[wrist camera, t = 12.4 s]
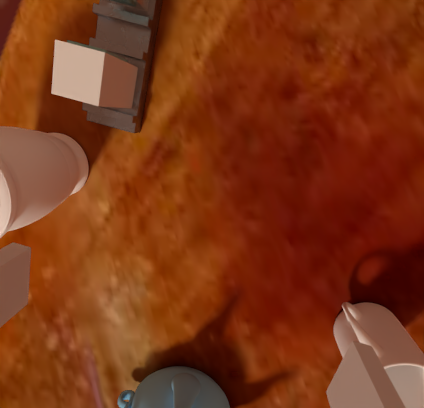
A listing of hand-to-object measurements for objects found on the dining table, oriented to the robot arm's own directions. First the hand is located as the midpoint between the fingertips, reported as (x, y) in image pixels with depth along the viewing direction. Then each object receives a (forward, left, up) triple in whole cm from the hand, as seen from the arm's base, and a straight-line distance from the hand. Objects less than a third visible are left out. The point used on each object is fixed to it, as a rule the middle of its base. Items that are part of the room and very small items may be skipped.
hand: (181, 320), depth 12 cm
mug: (+14, +23, -27) cm, 38 cm away
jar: (+4, -22, -27) cm, 35 cm away
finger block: (-8, -15, -25) cm, 30 cm away
